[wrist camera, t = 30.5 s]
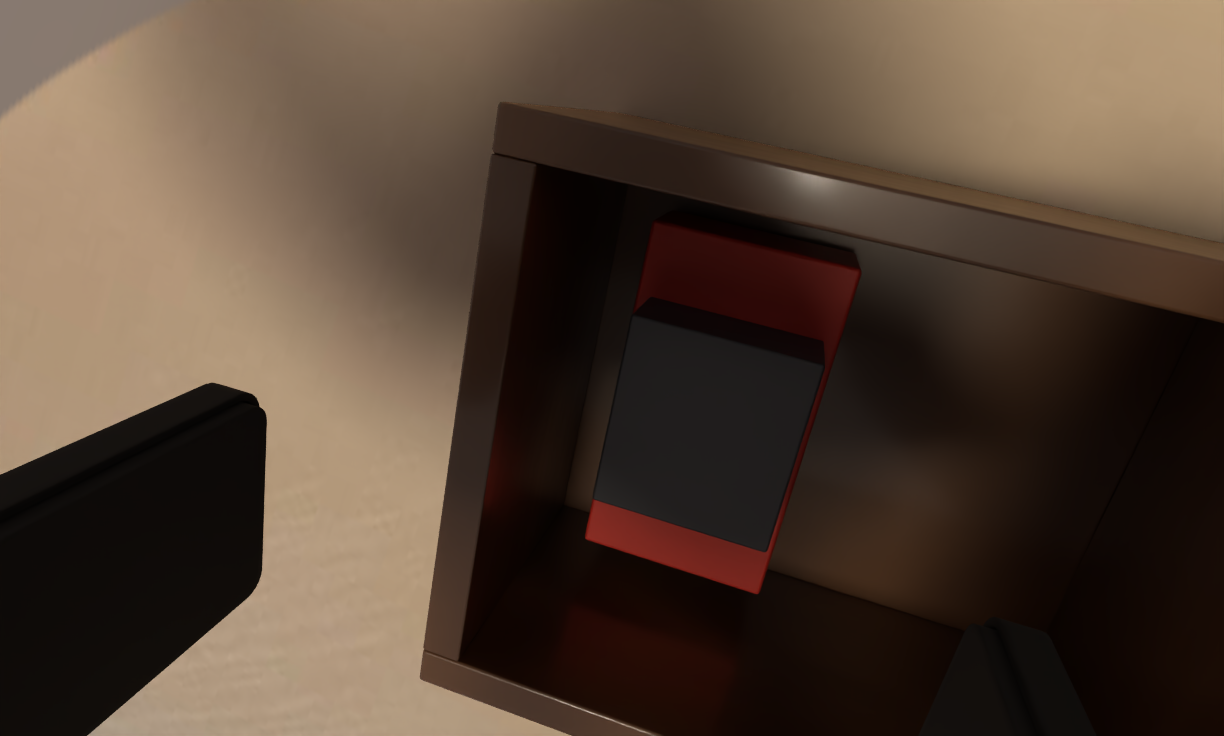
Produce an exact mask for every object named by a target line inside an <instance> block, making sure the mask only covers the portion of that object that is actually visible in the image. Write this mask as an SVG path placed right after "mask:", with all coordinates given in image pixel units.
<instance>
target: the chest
mask: <svg viewBox="0 0 1224 736" xmlns="http://www.w3.org/2000/svg"><path fill="white" fill-rule="evenodd" d="M492 149H493V152H494V153H495V154H492V155H491V159H490V167H489V174H488V181H487V188H486V196H485V203H484V210H483V218H482V225H481V232H480V239H479V247H478V254H477V261H476V269H475V276H474V283H473V290H472V298H471V305H470V312H469V320H468V327H467V334H466V342H465V349H464V356H463V363H462V371H461V378H460V385H459V393H458V400H457V407H456V414H455V422H454V429H453V436H452V444H451V451H450V458H449V465H448V473H447V480H446V487H445V495H444V502H443V509H442V516H441V524H440V531H439V538H438V546H437V553H436V560H435V568H434V575H433V582H432V589H431V597H430V604H429V611H428V619H427V626H426V633H425V640H424V650H423V658H422V665H421V672H420V679H421V680H423V681H426V682H429V683H431V684H434V685H437V686H439V687H442V688H445V689H447V690H450V691H453V692H456V693H458V694H461V695H464V696H466V697H469V698H472V699H474V700H477V701H480V702H483V703H485V704H488V705H491V706H493V707H496V708H499V709H501V710H504V711H507V712H510V713H512V714H515V715H518V716H520V717H523V718H526V719H528V720H531V721H534V722H537V723H539V724H542V725H545V726H547V727H550V728H553V729H555V730H558V731H561V732H564V733H566V734H569V735H572V736H918V735H919V733H920V731H921V728H922V726H923V724H924V722H925V719H926V717H927V715H928V713H929V710H930V708H931V706H932V704H933V701H934V699H935V697H936V695H937V692H938V690H939V688H940V686H941V683H942V681H943V679H944V677H945V674H946V672H947V670H948V668H949V665H950V663H951V661H952V659H953V657H954V654H955V652H956V650H957V648H958V645H959V643H960V641H961V639H962V636H963V634H964V632H965V630H966V629H967V627H968V626H969V625H970V624H973V623H974V624H977V625H981V626H983V625H984V623H985V622H986V621H987V620H988V619H989V618H991V617H997V618H1001V619H1004V620H1007V621H1011V622H1014V623H1017V624H1021V625H1024V626H1027V627H1031V628H1034V629H1037V630H1041V631H1043V632H1045V633H1047V634H1048V635H1049V637H1050V638H1051V640H1052V642H1053V644H1054V646H1055V648H1056V651H1057V653H1058V655H1059V657H1060V659H1061V661H1062V663H1063V665H1064V668H1065V670H1066V672H1067V674H1068V676H1069V678H1070V680H1071V682H1072V684H1073V687H1074V689H1075V691H1076V693H1077V695H1078V697H1079V699H1080V701H1081V703H1082V706H1083V708H1084V710H1085V712H1086V714H1087V716H1088V718H1089V720H1090V722H1091V725H1092V727H1093V729H1094V731H1095V733H1096V735H1097V736H1224V243H1219V242H1214V241H1210V240H1205V239H1200V238H1196V237H1191V236H1187V235H1182V234H1177V233H1173V232H1168V231H1163V230H1159V229H1154V228H1150V227H1145V226H1140V225H1136V224H1131V223H1127V222H1122V221H1117V220H1113V219H1108V218H1103V217H1099V216H1094V215H1090V214H1085V213H1080V212H1076V211H1071V210H1066V209H1062V208H1057V207H1053V206H1048V205H1043V204H1039V203H1034V202H1030V201H1025V200H1020V199H1016V198H1011V197H1006V196H1002V195H997V194H993V193H988V192H983V191H979V190H974V189H969V188H965V187H960V186H956V185H951V184H946V183H942V182H937V181H932V180H928V179H923V178H919V177H914V176H909V175H905V174H900V173H896V172H891V171H886V170H882V169H877V168H872V167H868V166H863V165H859V164H854V163H849V162H845V161H840V160H835V159H831V158H826V157H822V156H817V155H812V154H808V153H803V152H799V151H794V150H789V149H785V148H780V147H775V146H771V145H766V144H762V143H757V142H752V141H748V140H743V139H738V138H734V137H729V136H725V135H720V134H715V133H711V132H706V131H701V130H697V129H692V128H688V127H683V126H678V125H674V124H669V123H665V122H660V121H655V120H651V119H646V118H641V117H637V116H632V115H628V114H623V113H616V112H606V111H595V110H585V109H574V108H563V107H553V106H542V105H531V104H521V103H510V102H500V103H499V105H498V112H497V119H496V126H495V133H494V141H493V148H492ZM673 210H674V211H679V212H683V213H687V214H691V215H696V216H700V217H704V218H708V219H712V220H717V221H721V222H725V223H729V224H734V225H738V226H742V227H746V228H750V229H755V230H759V231H763V232H767V233H772V234H776V235H780V236H784V237H788V238H793V239H797V240H801V241H805V242H810V243H814V244H818V245H822V246H826V247H831V248H835V249H839V250H843V251H848V252H852V253H854V254H856V256H857V259H858V262H859V265H860V268H861V273H862V274H861V277H860V280H859V283H858V286H857V289H856V293H855V296H854V299H853V302H852V305H851V308H850V311H849V315H848V318H847V321H846V324H845V327H844V330H843V333H842V337H841V340H840V343H839V346H838V349H837V352H836V355H835V358H834V362H833V365H832V368H831V371H830V374H829V377H828V380H827V384H826V387H825V390H824V393H823V396H822V399H821V402H820V406H819V409H818V412H817V415H816V418H815V421H814V424H813V427H812V431H811V434H810V437H809V440H808V443H807V446H806V449H805V453H804V456H803V459H802V462H801V465H800V468H799V471H798V475H797V478H796V481H795V484H794V487H793V490H792V493H791V496H790V500H789V503H788V506H787V509H786V512H785V515H784V518H783V522H782V525H781V528H780V531H779V534H778V537H777V540H776V544H775V547H774V550H773V553H772V556H771V559H770V562H769V565H768V569H767V572H766V575H765V578H764V581H763V584H762V587H761V591H760V592H759V593H758V594H754V593H751V592H747V591H744V590H741V589H738V588H735V587H732V586H729V585H726V584H723V583H719V582H716V581H713V580H710V579H707V578H704V577H701V576H698V575H695V574H691V573H688V572H685V571H682V570H679V569H676V568H673V567H670V566H667V565H663V564H660V563H657V562H654V561H651V560H648V559H645V558H642V557H639V556H635V555H632V554H629V553H626V552H623V551H620V550H617V549H614V548H611V547H607V546H604V545H601V544H598V543H595V542H592V541H589V540H587V539H585V532H586V527H587V523H588V518H589V513H590V509H591V504H592V500H593V491H594V486H595V482H596V477H597V472H598V468H599V463H600V458H601V454H602V449H603V444H604V440H605V435H606V430H607V426H608V421H609V417H610V412H611V407H612V403H613V398H614V393H615V389H616V384H617V379H618V375H619V370H620V365H621V361H622V356H623V351H624V347H625V342H626V337H627V333H628V328H629V323H630V319H631V316H632V314H633V309H634V304H635V300H636V295H637V291H638V286H639V281H640V277H641V272H642V267H643V263H644V258H645V253H646V249H647V244H648V239H649V235H650V230H651V226H652V222H653V221H654V220H655V219H657V218H659V217H661V216H662V215H664V214H666V213H668V212H670V211H673Z"/></svg>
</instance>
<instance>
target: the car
mask: <svg viewBox="0 0 1224 736" xmlns="http://www.w3.org/2000/svg"><path fill="white" fill-rule="evenodd" d="M861 274H862V273H861V268H860V265H859V262H858V259H857V256H856V254H854V253H852V252H848V251H843V250H839V249H835V248H831V247H826V246H822V245H818V244H814V243H810V242H805V241H801V240H797V239H793V238H788V237H784V236H780V235H776V234H772V233H767V232H763V231H759V230H755V229H750V228H746V227H742V226H738V225H734V224H729V223H725V222H721V221H717V220H712V219H708V218H704V217H700V216H696V215H691V214H687V213H683V212H679V211H674V210H673V211H670V212H668V213H666V214H664V215H662V216H661V217H659V218H657V219H655V220H654V221H653V222H652V226H651V230H650V235H649V239H648V244H647V249H646V253H645V258H644V263H643V267H642V272H641V277H640V281H639V286H638V291H637V295H636V300H635V304H634V309H633V314H632V316H631V319H630V323H629V328H628V333H627V337H626V342H625V347H624V351H623V356H622V361H621V365H620V370H619V375H618V379H617V384H616V389H615V393H614V398H613V403H612V407H611V412H610V417H609V421H608V426H607V430H606V435H605V440H604V444H603V449H602V454H601V458H600V463H599V468H598V472H597V477H596V482H595V486H594V491H593V500H592V504H591V509H590V513H589V518H588V523H587V527H586V532H585V539H587V540H589V541H592V542H595V543H598V544H601V545H604V546H607V547H611V548H614V549H617V550H620V551H623V552H626V553H629V554H632V555H635V556H639V557H642V558H645V559H648V560H651V561H654V562H657V563H660V564H663V565H667V566H670V567H673V568H676V569H679V570H682V571H685V572H688V573H691V574H695V575H698V576H701V577H704V578H707V579H710V580H713V581H716V582H719V583H723V584H726V585H729V586H732V587H735V588H738V589H741V590H744V591H747V592H751V593H754V594H758V593H759V592H760V591H761V587H762V584H763V581H764V578H765V575H766V572H767V569H768V565H769V562H770V559H771V556H772V553H773V550H774V547H775V544H776V540H777V537H778V534H779V531H780V528H781V525H782V522H783V518H784V515H785V512H786V509H787V506H788V503H789V500H790V496H791V493H792V490H793V487H794V484H795V481H796V478H797V475H798V471H799V468H800V465H801V462H802V459H803V456H804V453H805V449H806V446H807V443H808V440H809V437H810V434H811V431H812V427H813V424H814V421H815V418H816V415H817V412H818V409H819V406H820V402H821V399H822V396H823V393H824V390H825V387H826V384H827V380H828V377H829V374H830V371H831V368H832V365H833V362H834V358H835V355H836V352H837V349H838V346H839V343H840V340H841V337H842V333H843V330H844V327H845V324H846V321H847V318H848V315H849V311H850V308H851V305H852V302H853V299H854V296H855V293H856V289H857V286H858V283H859V280H860V277H861Z"/></svg>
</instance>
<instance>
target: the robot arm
mask: <svg viewBox="0 0 1224 736" xmlns="http://www.w3.org/2000/svg"><path fill="white" fill-rule="evenodd" d="M266 428H267V418H266V413H265V411H264V410H263V409H262V408H260V407H259V403H258V401H257V398H256V397H255V396H254V395H253V394H250V393H247V392H244V391H240V390H237V389H234V388H230V387H227V386H224V385H220V384H216V383H209V384H205V385H202V386H200V387H198V388H196V389H193V390H191V391H189V392H187V393H184V394H182V395H180V396H178V397H175V398H173V399H171V400H169V401H166V402H164V403H162V404H160V405H157V406H155V407H153V408H150V409H148V410H146V411H144V412H141V413H139V414H137V415H135V416H132V417H130V418H128V419H126V420H123V421H121V422H119V423H117V424H114V425H112V426H110V427H108V428H105V429H103V430H101V431H98V432H96V433H94V434H92V435H89V436H87V437H85V438H83V439H80V440H78V441H76V442H74V443H71V444H69V445H67V446H65V447H62V448H60V449H58V450H56V451H53V452H51V453H49V454H46V455H44V456H42V457H40V458H37V459H35V460H33V461H31V462H28V463H26V464H24V465H22V466H19V467H17V468H15V469H13V470H10V471H8V472H6V473H3V474H1V475H0V736H87V735H88V734H90V733H91V732H92V731H93V730H94V729H95V728H97V727H98V726H99V725H100V724H101V723H102V722H104V721H105V720H106V719H107V718H108V717H109V716H111V715H112V714H113V713H114V712H115V711H116V710H118V709H119V708H120V707H121V706H122V705H123V704H125V703H126V702H127V701H128V700H129V699H130V698H132V697H133V696H134V695H135V694H136V693H137V692H139V691H140V690H141V689H142V688H143V687H144V686H145V685H147V684H148V683H149V682H150V681H151V680H152V679H154V678H155V677H156V676H157V675H158V674H159V673H161V672H162V671H163V670H164V669H165V668H166V667H168V666H169V665H170V664H171V663H172V662H173V661H175V660H176V659H177V658H178V657H179V656H180V655H182V654H183V653H184V652H185V651H186V650H187V649H189V648H190V647H191V646H192V645H193V644H194V643H196V642H197V641H198V640H199V639H200V638H201V637H203V636H204V635H205V634H206V633H207V632H208V631H210V630H211V629H212V628H213V627H214V626H215V625H217V624H218V623H219V622H220V621H221V620H222V619H224V618H225V617H226V616H227V615H228V614H229V613H230V612H232V611H233V610H234V609H235V608H236V607H237V606H239V605H240V604H241V603H242V602H243V601H244V600H246V599H247V598H248V597H249V596H250V595H251V594H252V592H253V591H254V589H255V588H256V586H257V584H258V582H259V580H260V577H261V572H262V554H263V523H264V491H265V460H266ZM918 736H1097V735H1096V733H1095V731H1094V729H1093V727H1092V725H1091V722H1090V720H1089V718H1088V716H1087V714H1086V712H1085V710H1084V708H1083V706H1082V703H1081V701H1080V699H1079V697H1078V695H1077V693H1076V691H1075V689H1074V687H1073V684H1072V682H1071V680H1070V678H1069V676H1068V674H1067V672H1066V670H1065V668H1064V665H1063V663H1062V661H1061V659H1060V657H1059V655H1058V653H1057V651H1056V648H1055V646H1054V644H1053V642H1052V640H1051V638H1050V637H1049V635H1048V634H1047V633H1045V632H1043V631H1041V630H1037V629H1034V628H1031V627H1027V626H1024V625H1021V624H1017V623H1014V622H1011V621H1007V620H1004V619H1001V618H997V617H991V618H989V619H988V620H987V621H986V622H985V623H984V625H983V626H981V625H977V624H974V623H973V624H970V625H969V626H968V627H967V629H966V630H965V632H964V634H963V636H962V639H961V641H960V643H959V645H958V648H957V650H956V652H955V654H954V657H953V659H952V661H951V663H950V665H949V668H948V670H947V672H946V674H945V677H944V679H943V681H942V683H941V686H940V688H939V690H938V692H937V695H936V697H935V699H934V701H933V704H932V706H931V708H930V710H929V713H928V715H927V717H926V719H925V722H924V724H923V726H922V728H921V731H920V733H919V735H918Z"/></svg>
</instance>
